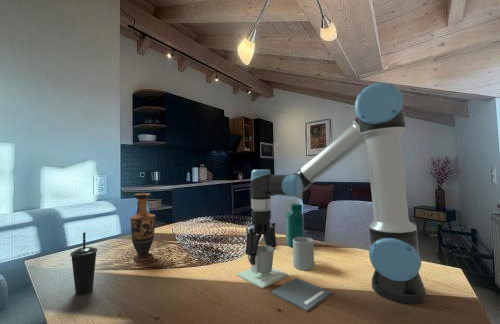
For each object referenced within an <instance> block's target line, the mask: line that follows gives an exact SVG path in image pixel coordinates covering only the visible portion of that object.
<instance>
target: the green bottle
mask: <svg viewBox="0 0 500 324" xmlns="http://www.w3.org/2000/svg"><path fill="white" fill-rule="evenodd" d="M288 205H289V206H290V211H287V212H286V213H285V216H284V217H285V243H286V245H287V246H288V247H290V248H293V239H294V238H296V237H305V218H304V217H305V216H304V213H302V212H303V205H302V204H300V203H296V202H292V203H289V204H288Z"/></svg>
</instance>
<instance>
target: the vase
mask: <svg viewBox="0 0 500 324" xmlns="http://www.w3.org/2000/svg"><path fill="white" fill-rule="evenodd" d="M150 196H151V193H149V192H148V193H146V192H145V193H141V192H140V193H135V194H134V197H135V199H136V200H137V209H136V212H135V214H134V215H132V216H130V217H129V223H130V234H131V235H130V236H131V242H132V246H133V247H134V249H135V251H136V253H137V254H136V255H134V256H133V258H132V260H133V261H134V260H135V261H134V262H138V261H140V262H146V261H145V260H147V261H149V260H151V259H153V258H154V253H152V252H150V251H151V247H152V244H153V242H154V237H155V230H156V228H155V227H156V214H153V213H149V212H148V208H147V202H148V200H149V199H150ZM148 259H149V260H148Z"/></svg>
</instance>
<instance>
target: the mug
mask: <svg viewBox="0 0 500 324" xmlns="http://www.w3.org/2000/svg"><path fill="white" fill-rule="evenodd" d="M314 243H315V241H314V239H313V238H311V237H306V236H304V237H296V238H294V239H293V247H292V253H293V254H292V261H293V262H292V263H293V264H292V265H293V267H294V268H295V269H297V270H299V271H304V272H306V271H311V270H313V269H314V268H315V253H314V252H315V251H314V249H315V247H314V245H315V244H314Z"/></svg>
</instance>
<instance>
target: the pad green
mask: <svg viewBox="0 0 500 324" xmlns="http://www.w3.org/2000/svg"><path fill="white" fill-rule="evenodd" d="M236 275H237V277H238V276H239V278H241V279H242V280H245V281H246V282H248V283H250V284H252V285H255V286H256V287H258V288H260V289H262V290H264V289H265V288H267V287H269V286H270V285H273V284H274V283H277V282H279V281H280V280H283V279H284V278H287V277H288V276H289V273H286V272H285V271H284V272H283V271H282V270H279V269H277V268H273V267H272V271H271V272H270V273H268V274H261V273H258V274H255V273H253V272H251V267H249V268H248V269H245V270H243V271H241V272H237V273H236Z"/></svg>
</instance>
